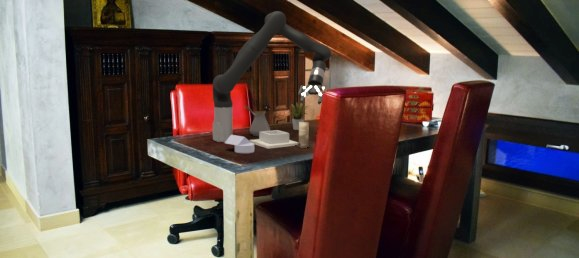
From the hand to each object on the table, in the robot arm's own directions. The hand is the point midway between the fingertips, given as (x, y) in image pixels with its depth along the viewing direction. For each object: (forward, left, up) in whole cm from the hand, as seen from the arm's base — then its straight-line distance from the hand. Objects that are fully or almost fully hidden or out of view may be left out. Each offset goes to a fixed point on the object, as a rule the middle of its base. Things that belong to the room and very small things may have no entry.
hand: (310, 102), depth 247 cm
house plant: (+19, +37, -20) cm, 47 cm away
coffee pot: (-11, +36, -21) cm, 43 cm away
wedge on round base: (-39, -1, -21) cm, 44 cm away
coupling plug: (-9, -8, -20) cm, 23 cm away
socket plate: (-17, +6, -20) cm, 27 cm away
